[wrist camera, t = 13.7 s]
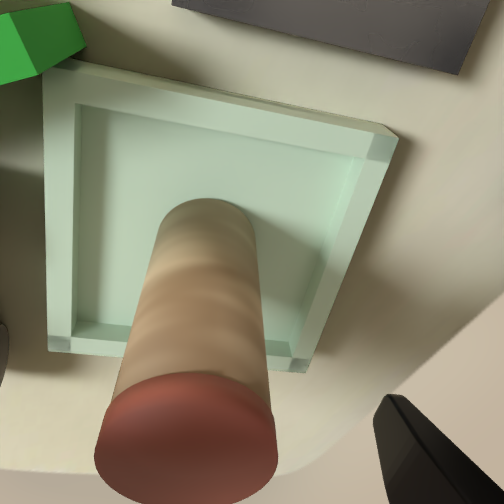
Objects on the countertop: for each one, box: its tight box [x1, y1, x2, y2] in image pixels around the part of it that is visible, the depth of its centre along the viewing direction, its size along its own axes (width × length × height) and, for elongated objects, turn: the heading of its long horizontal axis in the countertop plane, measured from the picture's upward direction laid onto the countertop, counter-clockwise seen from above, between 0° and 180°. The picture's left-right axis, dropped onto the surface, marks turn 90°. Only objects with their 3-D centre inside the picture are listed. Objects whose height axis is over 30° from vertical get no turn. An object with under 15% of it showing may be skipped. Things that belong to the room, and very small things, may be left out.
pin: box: [94, 198, 278, 504], centre depth 12 cm, size 4×4×8 cm
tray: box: [42, 58, 399, 373], centre depth 15 cm, size 10×10×2 cm
